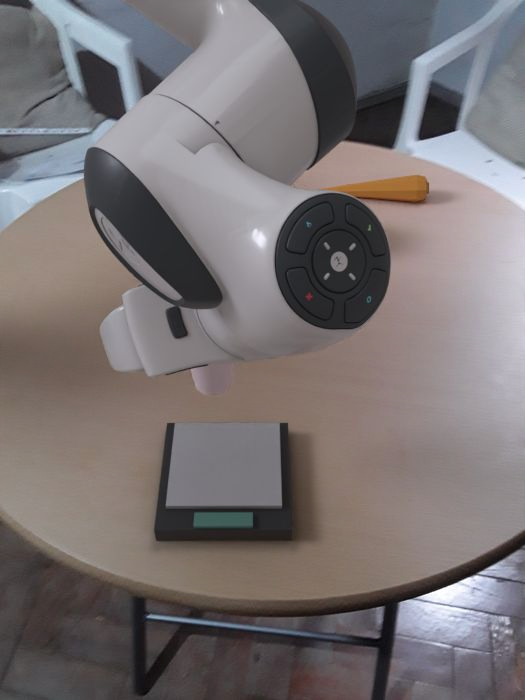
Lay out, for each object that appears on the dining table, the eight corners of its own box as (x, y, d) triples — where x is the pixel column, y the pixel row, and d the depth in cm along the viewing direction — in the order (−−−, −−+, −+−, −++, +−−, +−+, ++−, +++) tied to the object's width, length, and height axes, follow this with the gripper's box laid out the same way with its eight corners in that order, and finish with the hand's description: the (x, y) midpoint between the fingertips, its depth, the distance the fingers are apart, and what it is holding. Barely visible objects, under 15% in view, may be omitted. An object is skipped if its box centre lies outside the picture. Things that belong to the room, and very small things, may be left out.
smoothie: (174, 402, 66) (159, 289, 56) (188, 356, 70) (176, 244, 60) (240, 409, 65) (236, 296, 55) (249, 362, 70) (248, 250, 60)
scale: (155, 540, 70) (153, 527, 68) (168, 433, 80) (166, 419, 78) (291, 540, 70) (292, 527, 68) (287, 433, 80) (288, 419, 78)
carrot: (426, 199, 117) (427, 172, 116) (429, 203, 113) (430, 176, 112) (311, 202, 120) (310, 176, 119) (309, 207, 116) (308, 180, 114)
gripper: (359, 224, 52) (296, 257, 66) (100, 297, 46) (88, 318, 59) (383, 302, 53) (315, 320, 66) (129, 386, 46) (110, 387, 59)
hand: (206, 320), depth 62 cm, fingers closed on smoothie, 6 cm apart
